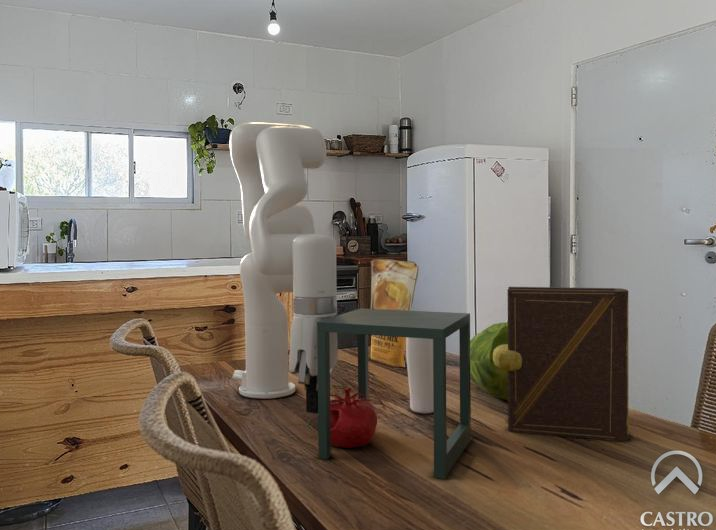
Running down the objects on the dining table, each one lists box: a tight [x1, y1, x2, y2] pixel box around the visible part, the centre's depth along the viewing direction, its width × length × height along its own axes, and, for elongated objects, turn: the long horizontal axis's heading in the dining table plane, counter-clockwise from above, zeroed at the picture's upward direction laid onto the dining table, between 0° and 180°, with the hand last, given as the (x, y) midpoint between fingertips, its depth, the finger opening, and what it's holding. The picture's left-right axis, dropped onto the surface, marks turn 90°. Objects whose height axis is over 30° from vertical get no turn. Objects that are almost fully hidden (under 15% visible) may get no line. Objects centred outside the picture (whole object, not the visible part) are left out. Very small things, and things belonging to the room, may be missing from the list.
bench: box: [317, 307, 472, 480], centre depth 97 cm, size 20×18×22 cm
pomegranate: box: [330, 387, 378, 449], centre depth 101 cm, size 10×10×9 cm
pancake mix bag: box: [369, 258, 419, 368], centre depth 163 cm, size 7×19×28 cm, turn 28°
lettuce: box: [470, 321, 508, 402], centre depth 129 cm, size 17×23×16 cm
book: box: [493, 286, 629, 442], centre depth 105 cm, size 22×8×25 cm, turn 71°
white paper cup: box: [405, 337, 434, 414], centre depth 118 cm, size 7×7×15 cm
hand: (316, 411), depth 104 cm, fingers closed
